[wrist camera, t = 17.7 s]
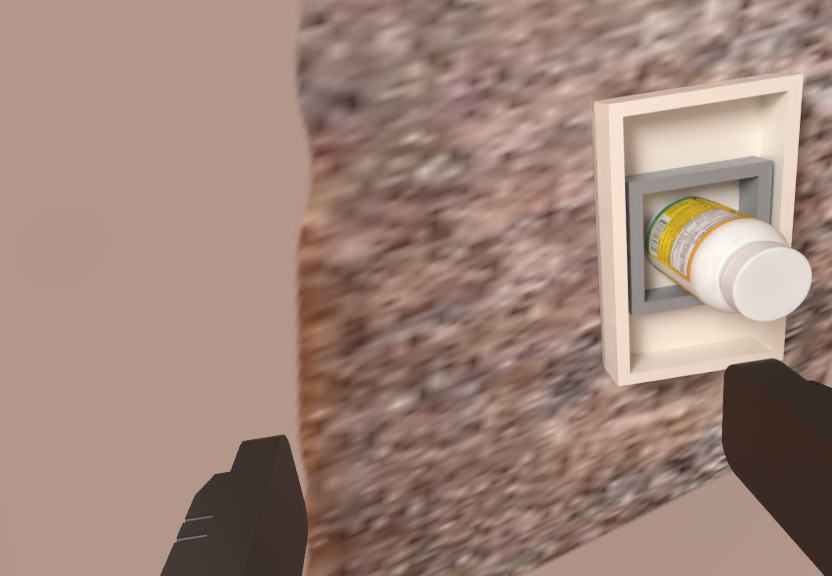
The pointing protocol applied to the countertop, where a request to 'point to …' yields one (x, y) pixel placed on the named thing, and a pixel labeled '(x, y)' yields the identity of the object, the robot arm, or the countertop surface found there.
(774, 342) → the walled box
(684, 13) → the countertop surface
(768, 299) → the supplement bottle
